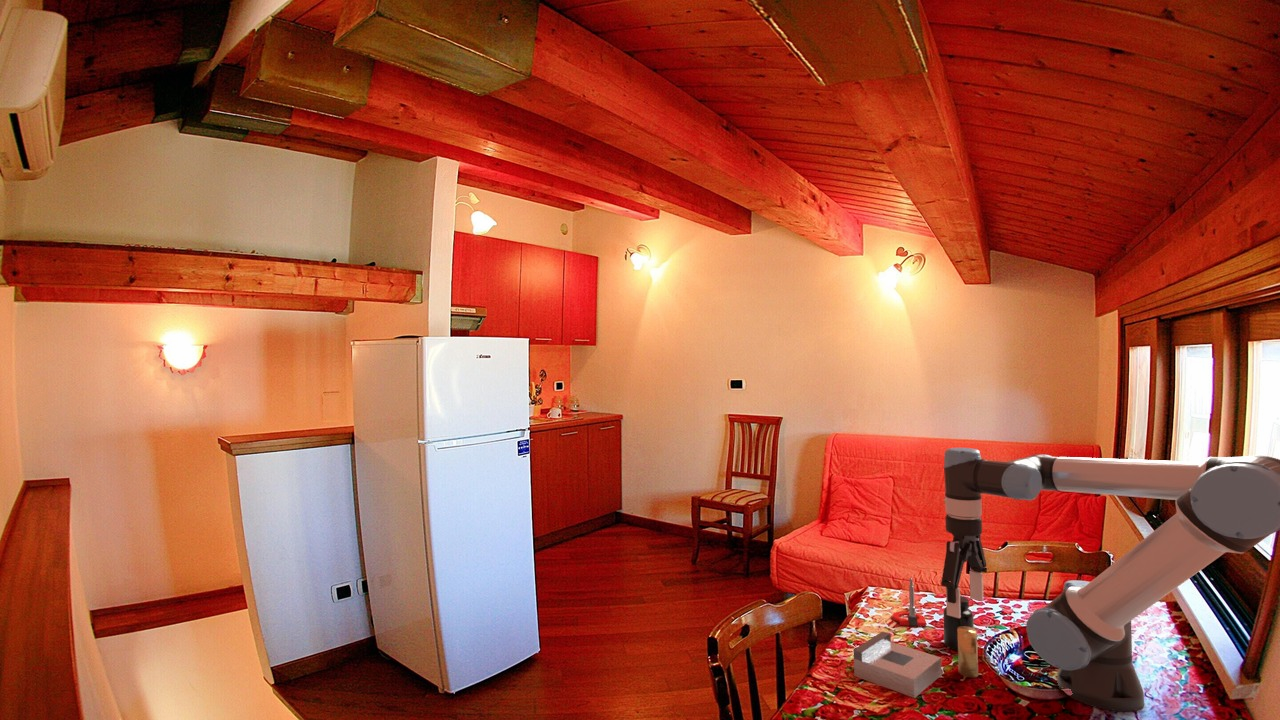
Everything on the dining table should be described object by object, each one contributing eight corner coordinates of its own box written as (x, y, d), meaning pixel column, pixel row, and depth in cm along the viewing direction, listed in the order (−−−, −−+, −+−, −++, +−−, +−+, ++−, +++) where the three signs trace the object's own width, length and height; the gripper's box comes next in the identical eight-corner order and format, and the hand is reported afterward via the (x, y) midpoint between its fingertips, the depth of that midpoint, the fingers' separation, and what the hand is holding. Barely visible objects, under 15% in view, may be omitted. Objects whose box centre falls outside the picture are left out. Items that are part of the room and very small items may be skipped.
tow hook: (889, 614, 184) (897, 626, 174) (887, 569, 184) (895, 578, 175) (920, 616, 182) (929, 628, 173) (918, 569, 183) (928, 579, 174)
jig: (941, 675, 147) (940, 648, 147) (914, 698, 138) (913, 670, 138) (883, 655, 158) (882, 631, 158) (854, 675, 148) (853, 649, 148)
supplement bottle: (966, 654, 157) (965, 605, 157) (939, 645, 162) (937, 598, 162) (979, 646, 161) (977, 598, 161) (951, 637, 167) (950, 591, 167)
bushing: (980, 673, 148) (979, 629, 148) (974, 679, 145) (972, 635, 145) (962, 667, 151) (961, 624, 151) (955, 673, 148) (954, 630, 148)
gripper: (967, 503, 159) (969, 589, 159) (923, 523, 142) (925, 618, 142) (1000, 508, 154) (1002, 596, 154) (958, 529, 137) (961, 628, 137)
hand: (965, 607), depth 148 cm, fingers open, 13 cm apart
